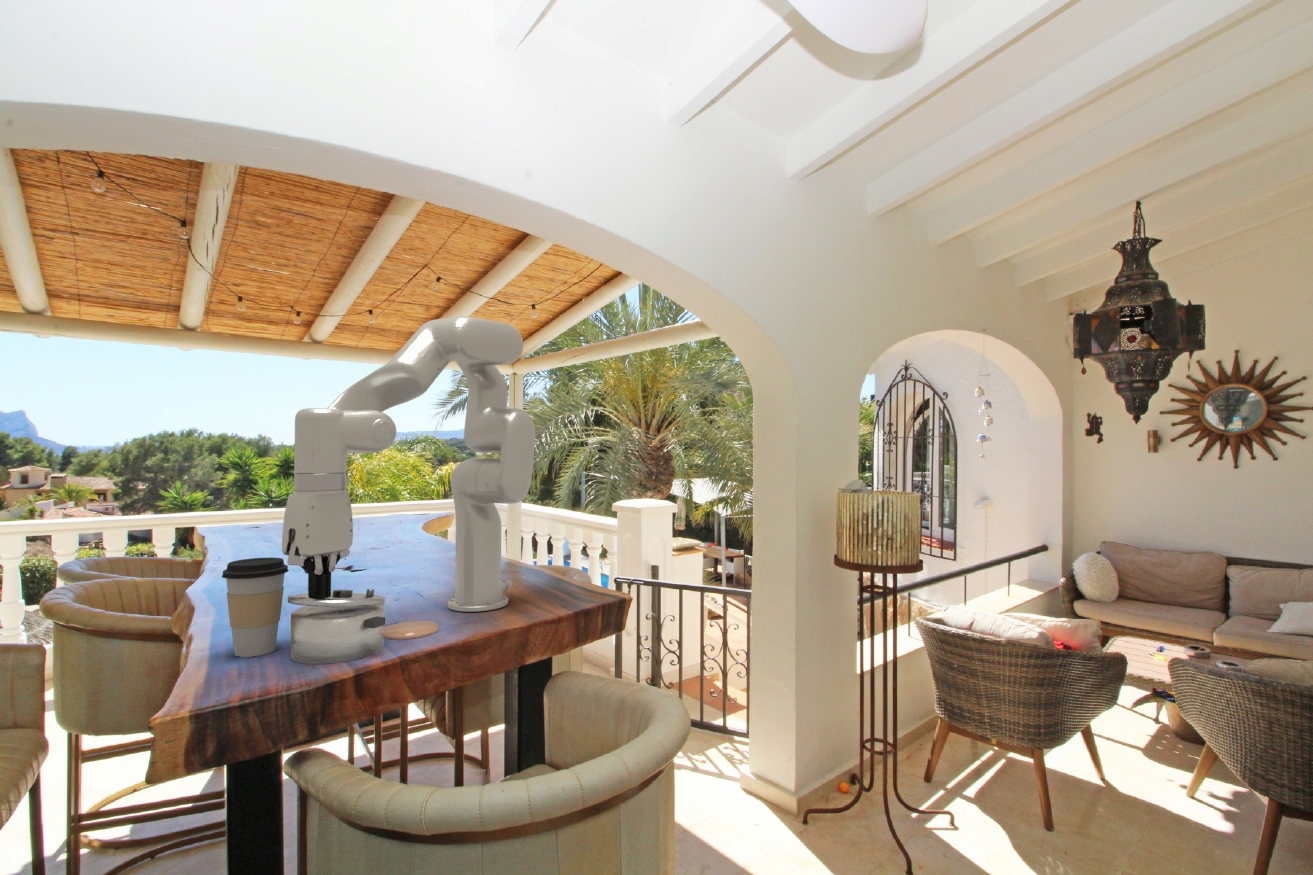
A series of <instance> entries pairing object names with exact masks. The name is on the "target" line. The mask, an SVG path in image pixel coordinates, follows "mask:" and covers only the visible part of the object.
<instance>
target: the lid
mask: <svg viewBox="0 0 1313 875" xmlns="http://www.w3.org/2000/svg"><path fill="white" fill-rule="evenodd" d="M287 597H288V598H287V603H288V604H291V605H298V606H303V607H305V606H319V607H358V606H372V605H380V604H383V603H384V604H385V603H386V597H385V596H384V595H380V594H375V589H373V588H367V589H366V593H359V592H353V590H352V589H333V590H332V592H331V596H330V597H328V598H324V599H315V598H309V596H308V593H307V592H305V593H296V594H291V595H289V596H287Z"/></svg>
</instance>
